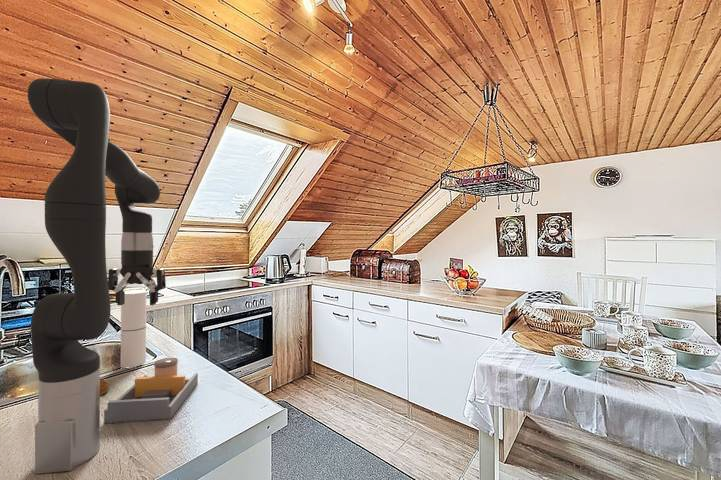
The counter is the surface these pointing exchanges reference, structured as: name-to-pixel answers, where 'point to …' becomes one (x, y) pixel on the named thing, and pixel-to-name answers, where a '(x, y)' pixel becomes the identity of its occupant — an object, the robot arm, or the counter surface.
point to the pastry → (103, 386)
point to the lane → (147, 405)
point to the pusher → (158, 386)
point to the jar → (166, 367)
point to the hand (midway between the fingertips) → (137, 304)
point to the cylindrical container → (133, 329)
